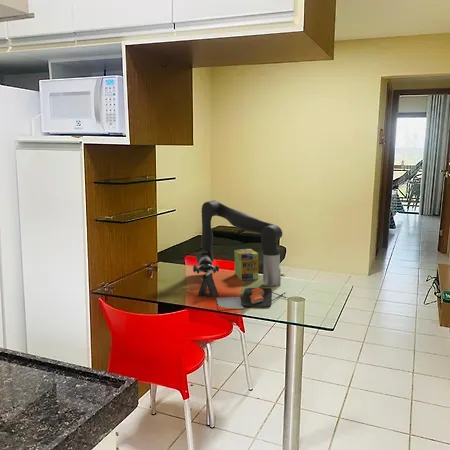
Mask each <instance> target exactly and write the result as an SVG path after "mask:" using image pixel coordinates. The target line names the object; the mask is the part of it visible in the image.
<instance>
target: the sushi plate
mask: <svg viewBox="0 0 450 450" xmlns="http://www.w3.org/2000/svg"><path fill="white" fill-rule="evenodd" d="M273 294H275V295H276V296H277V297H275V298H273ZM283 294H284V295H285V294H286V293H285V292H283V293H281V294H280V293H279V294H278V293H275V292H273V290H272V289H271V288H268V287H247V288H244V291H243V295H242V299H241V301H242V302H241V304H242V305H243V307H270V306H271V305H272V302H273V301H275V300H276V299H278V298H280V297H282V298H284V299H286V298H288V297H287V296H284V295H283ZM272 298H273V299H272Z"/></svg>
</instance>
